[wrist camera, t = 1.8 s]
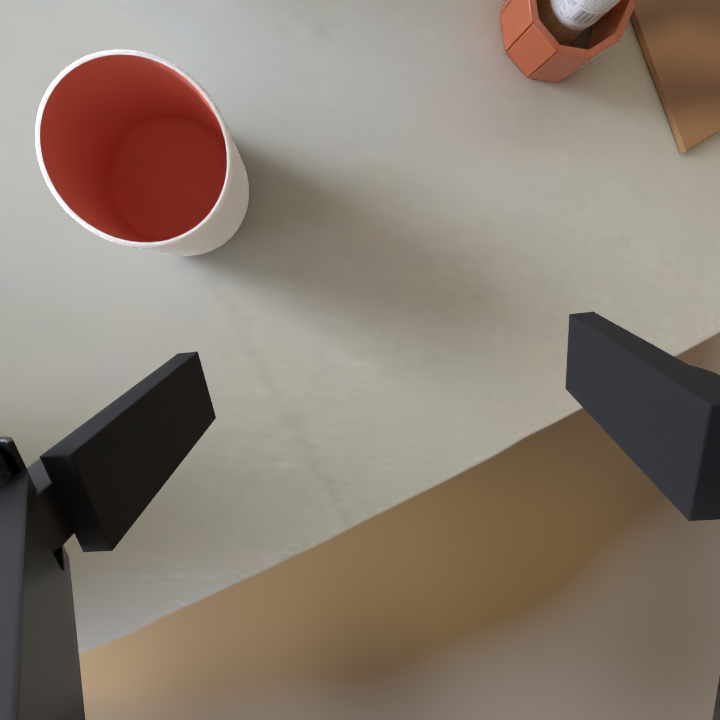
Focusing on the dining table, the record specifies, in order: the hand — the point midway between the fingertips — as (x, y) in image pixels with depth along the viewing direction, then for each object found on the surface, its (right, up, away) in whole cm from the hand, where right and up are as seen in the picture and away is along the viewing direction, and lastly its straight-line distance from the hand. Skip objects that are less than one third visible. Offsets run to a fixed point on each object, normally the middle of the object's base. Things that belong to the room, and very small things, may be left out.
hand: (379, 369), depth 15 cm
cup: (-14, +13, +18) cm, 26 cm away
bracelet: (+15, +28, +19) cm, 37 cm away
